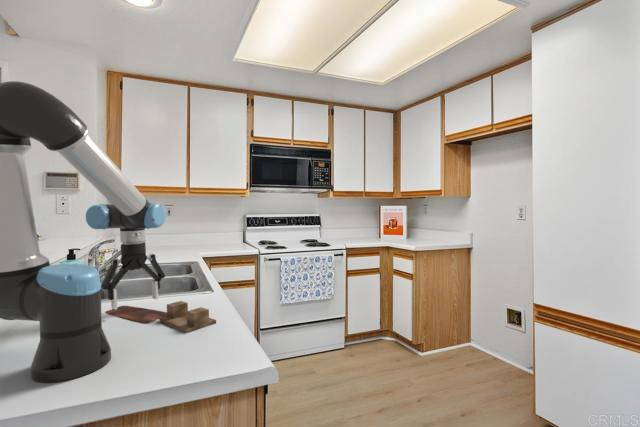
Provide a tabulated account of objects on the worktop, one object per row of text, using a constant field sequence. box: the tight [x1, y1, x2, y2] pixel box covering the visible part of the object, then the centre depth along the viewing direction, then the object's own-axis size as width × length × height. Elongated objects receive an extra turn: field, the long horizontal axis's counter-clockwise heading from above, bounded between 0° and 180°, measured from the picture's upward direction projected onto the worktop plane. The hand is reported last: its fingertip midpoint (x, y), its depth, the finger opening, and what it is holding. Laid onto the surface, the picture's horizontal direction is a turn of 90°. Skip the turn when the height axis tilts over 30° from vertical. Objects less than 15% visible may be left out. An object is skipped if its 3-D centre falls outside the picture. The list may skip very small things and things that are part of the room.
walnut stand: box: [159, 300, 217, 334], centre depth 108 cm, size 10×16×5 cm, turn 52°
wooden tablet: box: [104, 305, 167, 325], centre depth 117 cm, size 26×2×10 cm
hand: (135, 303), depth 117 cm, fingers open, 13 cm apart
